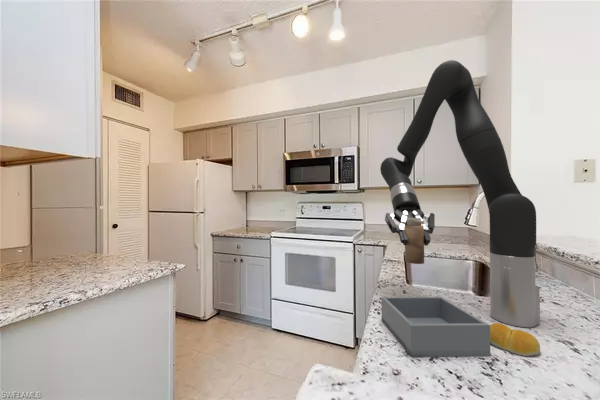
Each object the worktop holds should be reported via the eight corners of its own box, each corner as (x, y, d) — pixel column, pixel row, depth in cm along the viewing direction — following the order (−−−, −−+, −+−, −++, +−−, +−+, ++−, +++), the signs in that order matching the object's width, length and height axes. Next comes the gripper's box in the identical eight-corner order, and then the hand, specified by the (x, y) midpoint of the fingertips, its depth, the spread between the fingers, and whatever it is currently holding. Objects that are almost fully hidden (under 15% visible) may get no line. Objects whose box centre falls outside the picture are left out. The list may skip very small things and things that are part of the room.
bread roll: (538, 363, 48) (537, 342, 48) (481, 344, 55) (481, 325, 55) (542, 347, 54) (542, 328, 54) (491, 332, 60) (490, 315, 60)
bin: (442, 320, 66) (441, 297, 66) (490, 355, 50) (490, 325, 50) (381, 320, 65) (381, 297, 66) (411, 356, 49) (410, 325, 50)
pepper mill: (418, 260, 72) (418, 217, 72) (427, 263, 67) (427, 218, 67) (402, 260, 72) (401, 217, 72) (409, 263, 67) (409, 218, 67)
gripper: (382, 191, 78) (390, 234, 66) (431, 190, 76) (449, 235, 64) (379, 208, 83) (386, 251, 71) (425, 208, 81) (441, 252, 69)
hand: (416, 243), depth 68 cm, fingers closed on pepper mill, 4 cm apart
